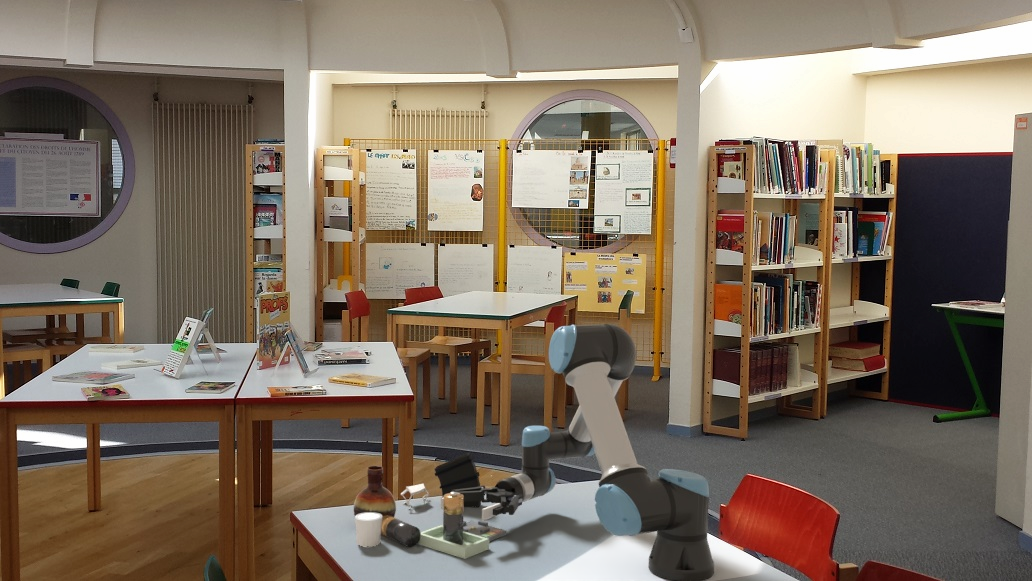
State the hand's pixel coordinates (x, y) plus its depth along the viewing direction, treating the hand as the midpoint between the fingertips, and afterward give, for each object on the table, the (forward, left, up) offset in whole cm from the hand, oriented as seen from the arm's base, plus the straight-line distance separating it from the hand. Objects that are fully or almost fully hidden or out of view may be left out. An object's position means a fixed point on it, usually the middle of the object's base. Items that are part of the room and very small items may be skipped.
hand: (461, 509), depth 233 cm
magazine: (+25, -19, -9) cm, 33 cm away
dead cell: (+11, +11, -9) cm, 18 cm away
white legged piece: (+33, -9, -9) cm, 35 cm away
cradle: (+3, -8, -9) cm, 12 cm away
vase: (+25, +9, -9) cm, 28 cm away
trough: (-1, +3, -9) cm, 9 cm away
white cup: (+14, +18, -9) cm, 25 cm away
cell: (-1, +3, -8) cm, 9 cm away
